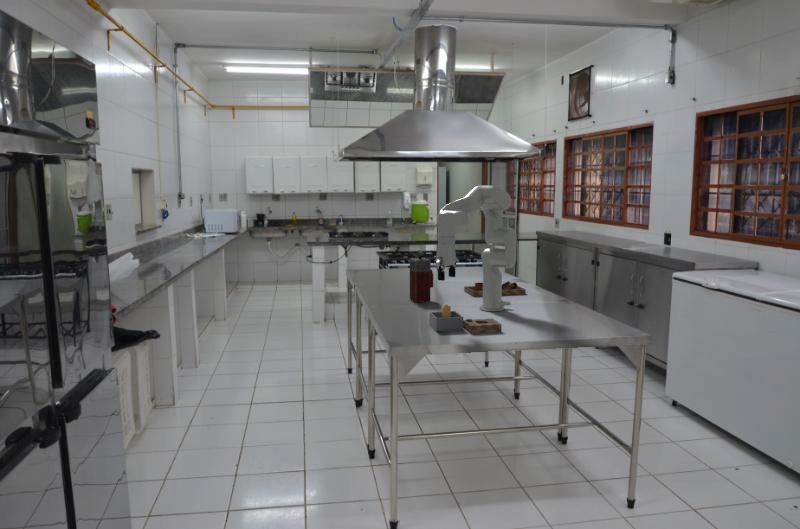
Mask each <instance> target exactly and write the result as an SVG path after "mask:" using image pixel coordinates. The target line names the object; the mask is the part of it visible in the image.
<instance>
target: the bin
mask: <svg viewBox="0 0 800 529" xmlns="http://www.w3.org/2000/svg"><path fill="white" fill-rule="evenodd" d="M428 315H429V316H428V317H429V318H428V323H429V324H428V326H430V327H431V329H432V330H433V331H435V332H436V331H443V332H457V331H460V330H461V331H464V328H463V320H464V316H462V315H461V314H460V313H459V312H457V311H456V310H451V317H448V318H442V311H429V312H428ZM461 331H460V332H461Z"/></svg>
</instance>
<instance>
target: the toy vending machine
mask: <svg viewBox="0 0 800 529" xmlns="http://www.w3.org/2000/svg"><path fill="white" fill-rule="evenodd" d="M431 263H432V262H431V259H429V258H426V257H424V251H423V250H417V251H416V257H415V258H414V257H413V258H409V300H410V299H411V300H413V301H415V302H414V303H416V302H417V303H422V302H421V301H429V302H431V289H432V288H434V273H433V270H432V269H431ZM411 300H410V301H411ZM413 301H412V302H413Z"/></svg>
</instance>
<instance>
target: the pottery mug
mask: <svg viewBox="0 0 800 529" xmlns="http://www.w3.org/2000/svg"><path fill="white" fill-rule="evenodd" d="M507 285H509V286H510V287H511V289H512V290H515V289H516V288H517V286H518V284H517V283H516V282H510V280H508V281H506V282H504V283H502V290H503V287H505V288H508V287H507ZM514 286H515V287H514Z"/></svg>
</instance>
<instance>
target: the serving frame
mask: <svg viewBox="0 0 800 529" xmlns="http://www.w3.org/2000/svg"><path fill="white" fill-rule="evenodd" d="M507 287H508V288H505V287H503V290H502V295H501V296H519V295H522V296H523V295H526V292H527V290H526V288H523V287H522V286H519V285H517V288H516V289H515V290H512V289H511V287H510V286H509V285H507ZM514 287H515V286H514ZM473 289H475V285H472V286H471V285H470V286H469V285H468V286H466V285H465V286H464V287H463V290H464V293H466V294H468V295H470V296H471V297H475V298H476V297H477V298H478V297H483V291H473Z"/></svg>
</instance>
